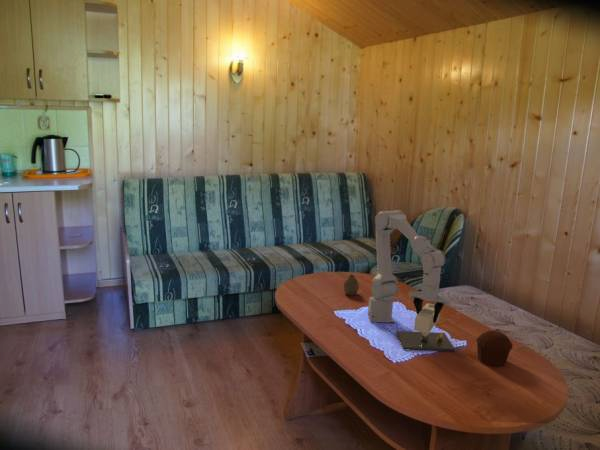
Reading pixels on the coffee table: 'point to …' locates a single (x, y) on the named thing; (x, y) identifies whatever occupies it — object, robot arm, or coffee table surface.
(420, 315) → the block with holes
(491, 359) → the muffin
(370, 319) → the robot arm
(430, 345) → the flange base
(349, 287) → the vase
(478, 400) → the coffee table surface
